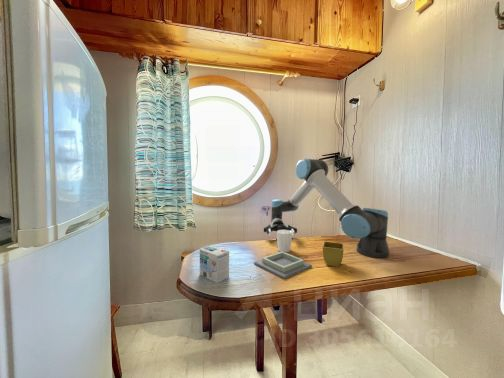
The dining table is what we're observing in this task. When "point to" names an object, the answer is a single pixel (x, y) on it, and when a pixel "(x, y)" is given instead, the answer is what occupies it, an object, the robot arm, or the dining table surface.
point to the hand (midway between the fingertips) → (281, 233)
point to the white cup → (284, 240)
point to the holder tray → (283, 264)
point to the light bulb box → (214, 263)
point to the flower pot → (333, 253)
